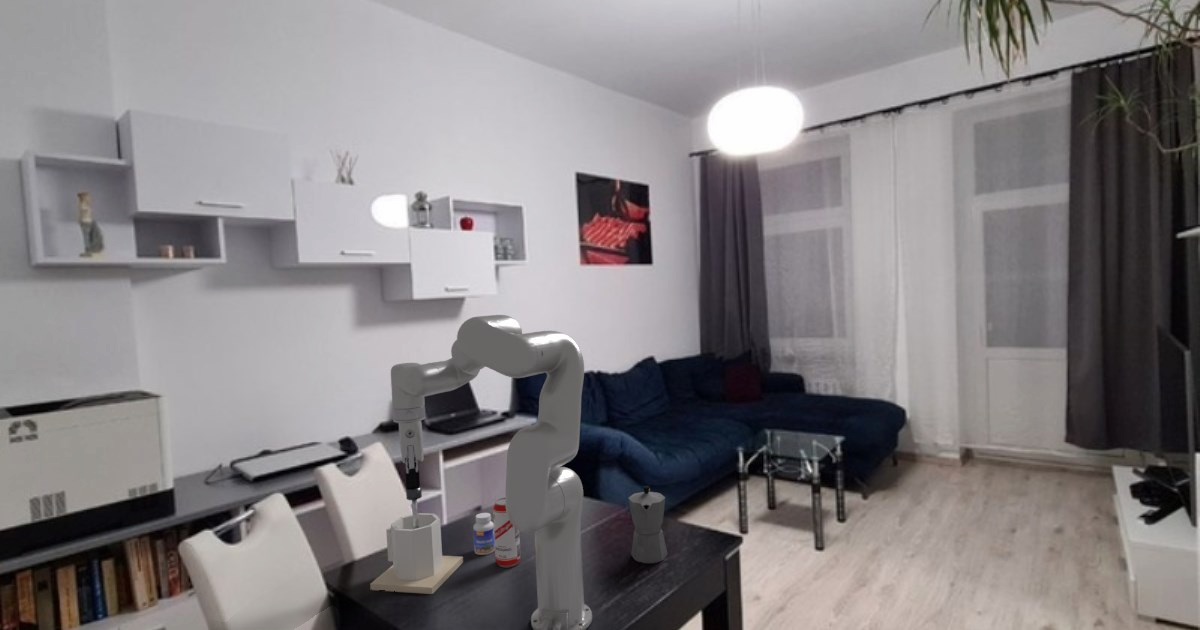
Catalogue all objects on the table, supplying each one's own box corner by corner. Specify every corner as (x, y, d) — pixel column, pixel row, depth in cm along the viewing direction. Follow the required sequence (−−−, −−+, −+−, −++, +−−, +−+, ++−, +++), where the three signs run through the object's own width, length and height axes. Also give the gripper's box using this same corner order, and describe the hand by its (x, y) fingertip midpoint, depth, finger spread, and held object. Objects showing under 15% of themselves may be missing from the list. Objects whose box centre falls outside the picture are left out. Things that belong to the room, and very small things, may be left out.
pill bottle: (475, 557, 152) (473, 520, 152) (474, 548, 158) (472, 513, 157) (496, 553, 154) (494, 517, 154) (494, 545, 159) (492, 510, 159)
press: (432, 594, 134) (429, 536, 133) (370, 589, 137) (367, 533, 137) (463, 562, 149) (460, 510, 149) (406, 559, 153) (403, 508, 152)
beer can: (515, 569, 144) (512, 505, 144) (492, 568, 145) (488, 505, 145) (524, 558, 150) (520, 496, 150) (501, 557, 152) (498, 496, 151)
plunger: (423, 553, 138) (420, 494, 138) (392, 551, 140) (388, 493, 139) (440, 538, 146) (437, 482, 146) (410, 537, 148) (407, 482, 148)
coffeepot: (668, 567, 141) (665, 494, 141) (629, 567, 142) (626, 495, 142) (667, 541, 157) (664, 474, 156) (632, 541, 157) (629, 475, 157)
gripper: (425, 417, 136) (429, 495, 137) (424, 407, 150) (428, 477, 151) (391, 421, 134) (396, 499, 135) (393, 409, 148) (397, 481, 149)
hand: (413, 487), depth 143 cm, fingers closed
